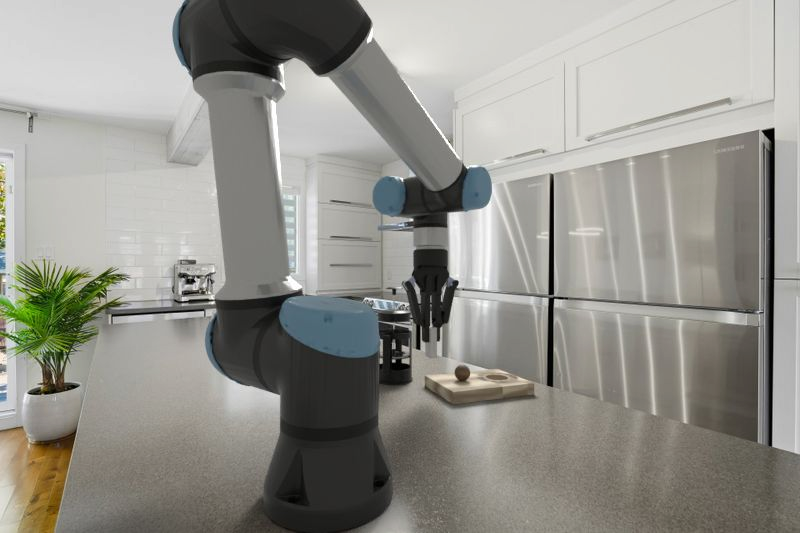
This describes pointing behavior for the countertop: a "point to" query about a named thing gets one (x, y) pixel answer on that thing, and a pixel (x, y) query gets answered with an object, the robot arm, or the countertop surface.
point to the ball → (462, 372)
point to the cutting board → (479, 386)
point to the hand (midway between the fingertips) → (431, 356)
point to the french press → (395, 347)
